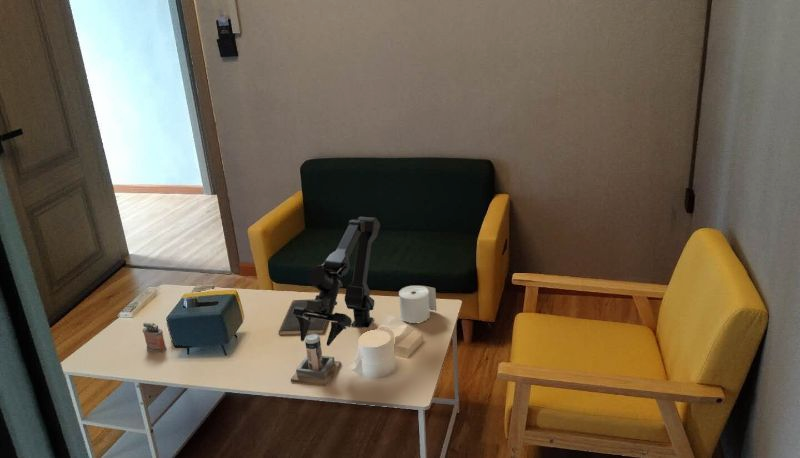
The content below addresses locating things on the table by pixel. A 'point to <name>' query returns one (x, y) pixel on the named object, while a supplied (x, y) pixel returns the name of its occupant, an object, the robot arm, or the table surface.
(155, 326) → the lighter
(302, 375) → the socket board
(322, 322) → the hardcover book
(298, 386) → the table surface
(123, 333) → the table surface
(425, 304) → the toilet tissue
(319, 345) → the beer can
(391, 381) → the table surface
